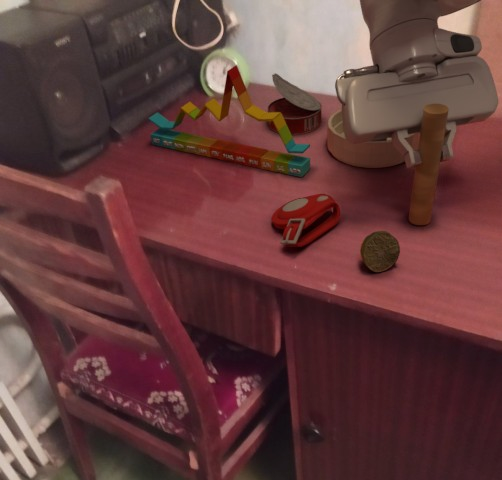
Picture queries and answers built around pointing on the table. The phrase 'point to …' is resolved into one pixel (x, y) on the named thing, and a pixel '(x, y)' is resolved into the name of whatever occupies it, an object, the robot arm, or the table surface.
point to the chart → (228, 149)
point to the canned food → (295, 108)
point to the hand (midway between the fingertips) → (430, 163)
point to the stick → (428, 162)
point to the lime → (380, 251)
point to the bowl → (364, 147)
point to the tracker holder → (305, 218)
